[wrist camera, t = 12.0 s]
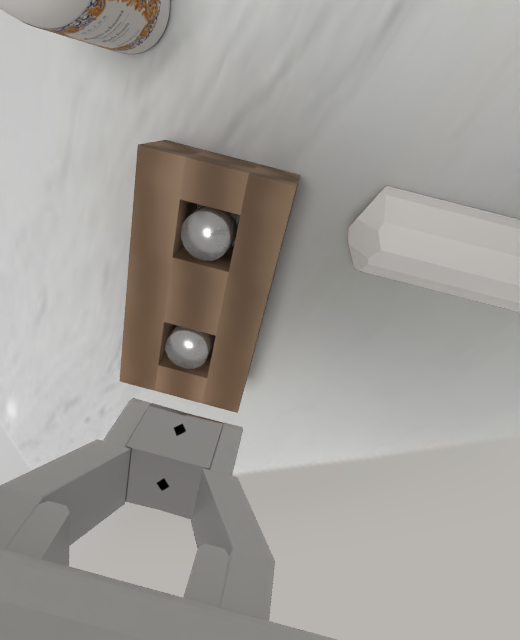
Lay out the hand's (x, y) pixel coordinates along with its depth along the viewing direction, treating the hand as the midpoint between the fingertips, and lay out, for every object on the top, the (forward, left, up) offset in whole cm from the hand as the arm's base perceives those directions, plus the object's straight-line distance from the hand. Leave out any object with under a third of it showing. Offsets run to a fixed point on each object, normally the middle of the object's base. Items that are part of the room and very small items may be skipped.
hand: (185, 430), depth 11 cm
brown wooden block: (+5, +8, -29) cm, 31 cm away
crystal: (-18, 0, -30) cm, 35 cm away
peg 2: (+5, +13, -29) cm, 32 cm away
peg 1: (+5, +3, -29) cm, 29 cm away
